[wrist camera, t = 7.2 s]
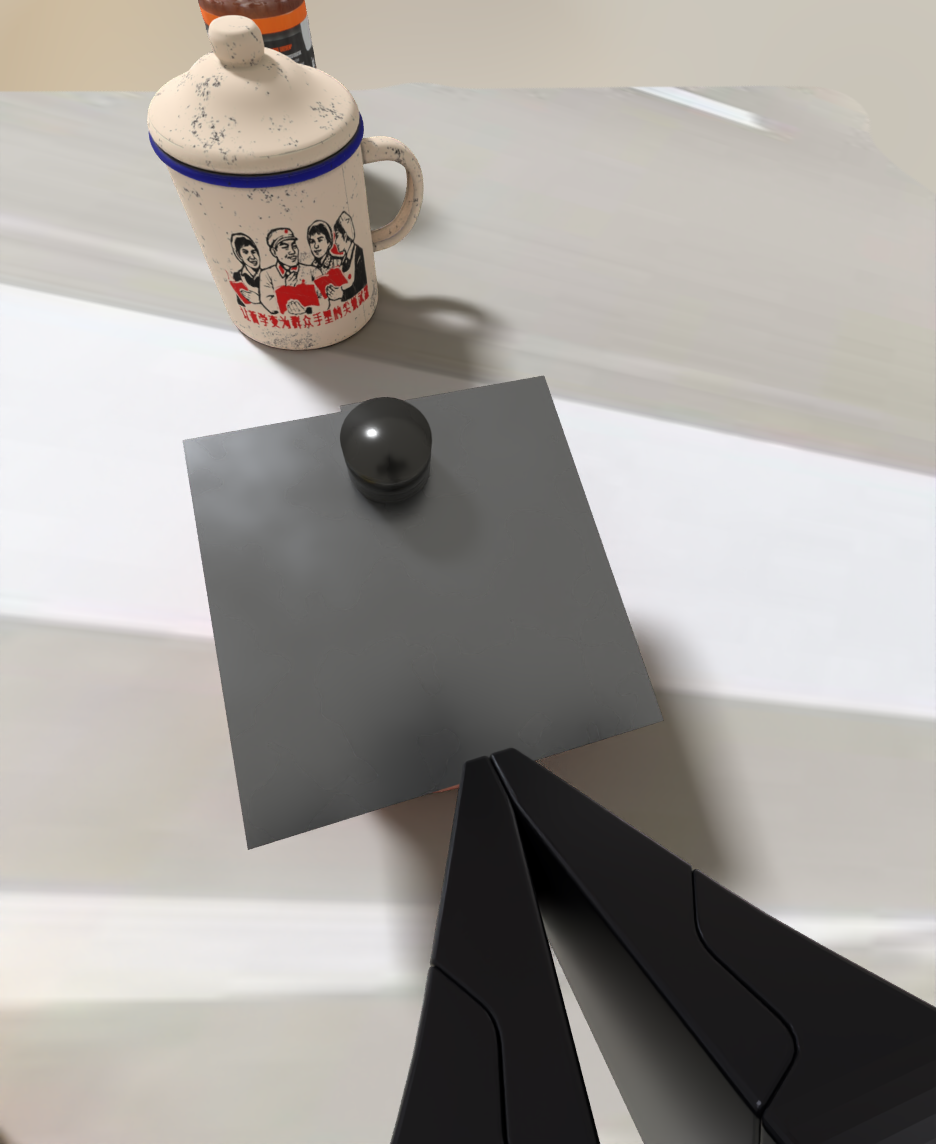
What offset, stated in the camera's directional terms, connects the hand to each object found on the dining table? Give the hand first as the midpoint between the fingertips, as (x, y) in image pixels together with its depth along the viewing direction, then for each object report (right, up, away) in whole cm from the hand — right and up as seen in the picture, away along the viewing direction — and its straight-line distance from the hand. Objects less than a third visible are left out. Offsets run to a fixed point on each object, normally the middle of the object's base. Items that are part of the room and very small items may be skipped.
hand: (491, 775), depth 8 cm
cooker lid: (-2, +3, +7) cm, 8 cm away
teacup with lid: (-9, +20, +22) cm, 31 cm away
